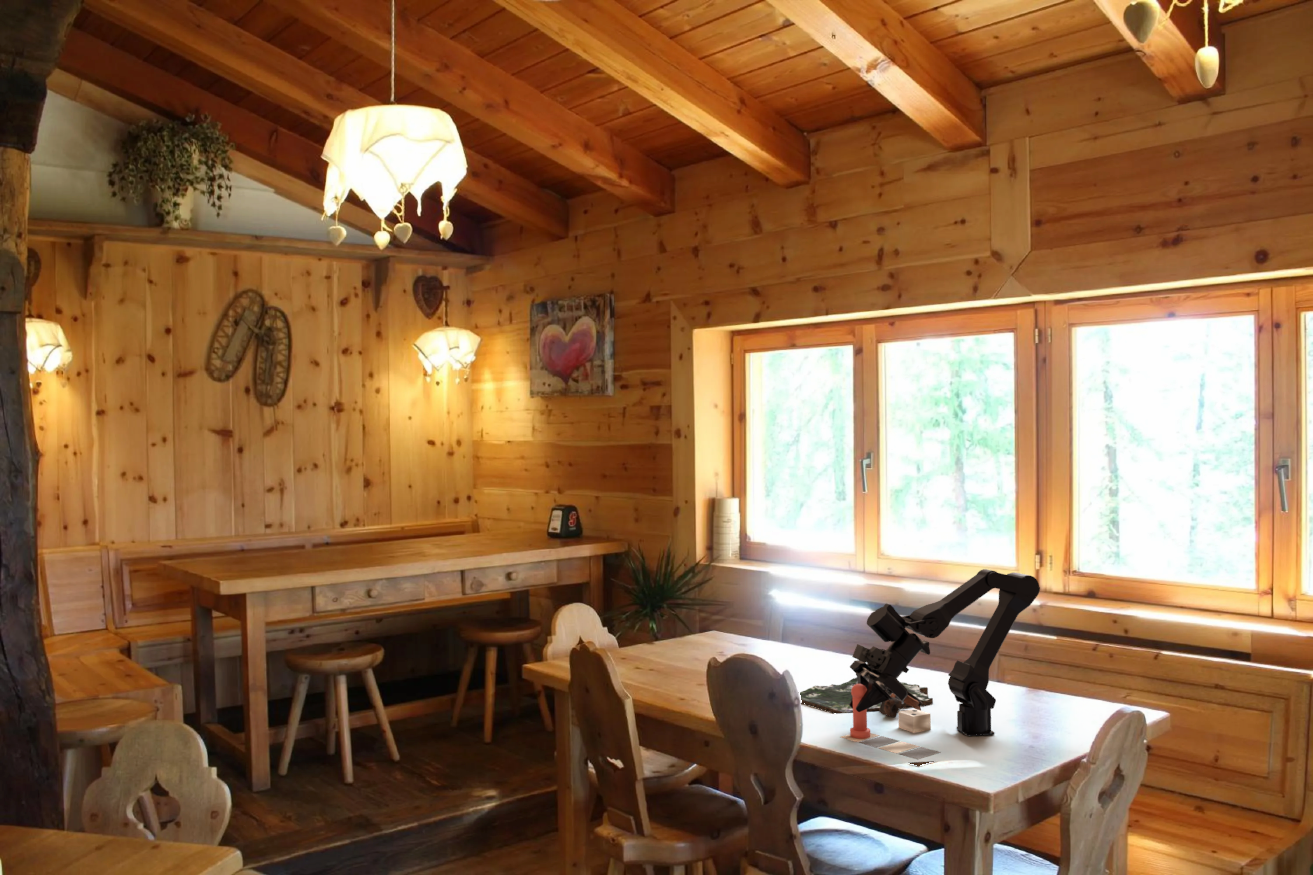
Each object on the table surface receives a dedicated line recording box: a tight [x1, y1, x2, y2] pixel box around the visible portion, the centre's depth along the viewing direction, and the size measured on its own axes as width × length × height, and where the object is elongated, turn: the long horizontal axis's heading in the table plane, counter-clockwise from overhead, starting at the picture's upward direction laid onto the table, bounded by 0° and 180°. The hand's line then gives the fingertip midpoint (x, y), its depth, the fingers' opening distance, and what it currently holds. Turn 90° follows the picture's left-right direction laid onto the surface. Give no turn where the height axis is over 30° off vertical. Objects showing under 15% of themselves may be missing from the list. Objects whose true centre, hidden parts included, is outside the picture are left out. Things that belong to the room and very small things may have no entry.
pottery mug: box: [878, 692, 923, 718], centre depth 249 cm, size 12×10×8 cm
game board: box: [840, 732, 942, 767], centre depth 224 cm, size 23×9×1 cm, turn 37°
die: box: [897, 708, 932, 734], centre depth 236 cm, size 5×5×5 cm
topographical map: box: [799, 676, 934, 715], centre depth 269 cm, size 26×33×3 cm
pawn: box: [849, 684, 871, 739], centre depth 230 cm, size 4×4×12 cm
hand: (853, 708), depth 230 cm, fingers closed on pawn, 3 cm apart
